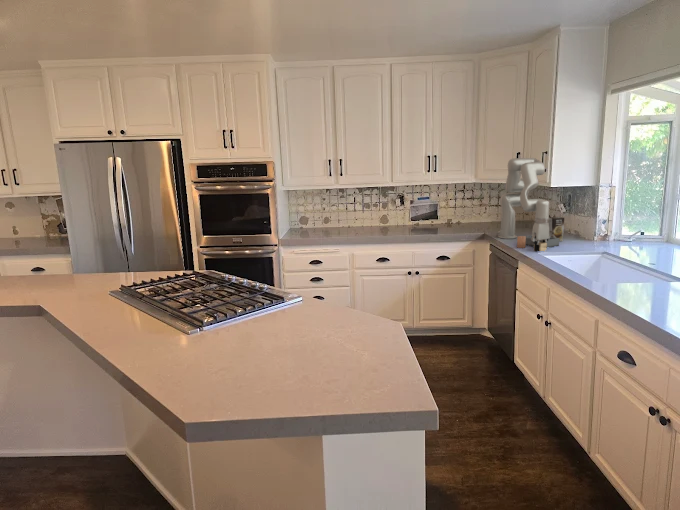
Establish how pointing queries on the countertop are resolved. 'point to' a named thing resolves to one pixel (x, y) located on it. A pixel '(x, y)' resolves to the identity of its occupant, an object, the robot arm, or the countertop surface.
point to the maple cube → (542, 246)
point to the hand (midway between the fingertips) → (540, 250)
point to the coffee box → (556, 227)
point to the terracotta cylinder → (521, 241)
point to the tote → (550, 242)
